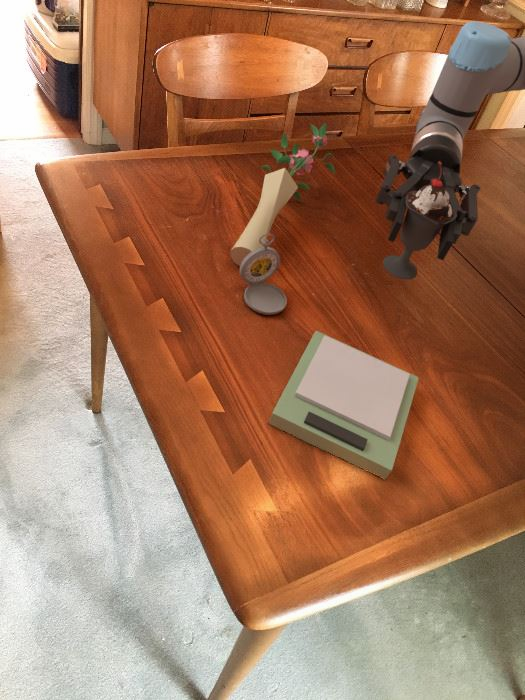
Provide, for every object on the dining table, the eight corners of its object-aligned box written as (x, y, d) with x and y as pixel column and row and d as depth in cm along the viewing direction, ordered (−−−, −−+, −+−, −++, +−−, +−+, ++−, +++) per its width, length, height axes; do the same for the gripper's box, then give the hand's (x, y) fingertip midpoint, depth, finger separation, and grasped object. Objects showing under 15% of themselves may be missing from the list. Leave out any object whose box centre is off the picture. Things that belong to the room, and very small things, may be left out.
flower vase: (220, 288, 97) (282, 162, 114) (287, 299, 93) (340, 168, 111) (204, 238, 87) (275, 110, 105) (278, 248, 83) (338, 113, 101)
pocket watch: (272, 323, 83) (289, 272, 75) (225, 297, 84) (237, 244, 77) (296, 295, 88) (314, 245, 81) (251, 271, 90) (265, 220, 82)
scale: (412, 387, 80) (421, 373, 78) (384, 480, 68) (394, 467, 66) (311, 341, 82) (317, 326, 80) (267, 423, 70) (273, 409, 68)
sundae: (388, 245, 79) (434, 149, 68) (429, 269, 78) (483, 174, 67) (368, 265, 75) (413, 166, 64) (411, 291, 73) (465, 193, 63)
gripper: (482, 201, 85) (478, 291, 69) (367, 160, 86) (337, 239, 70) (508, 157, 80) (510, 243, 64) (385, 113, 81) (357, 187, 65)
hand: (420, 241), depth 67 cm, fingers closed on sundae, 6 cm apart
